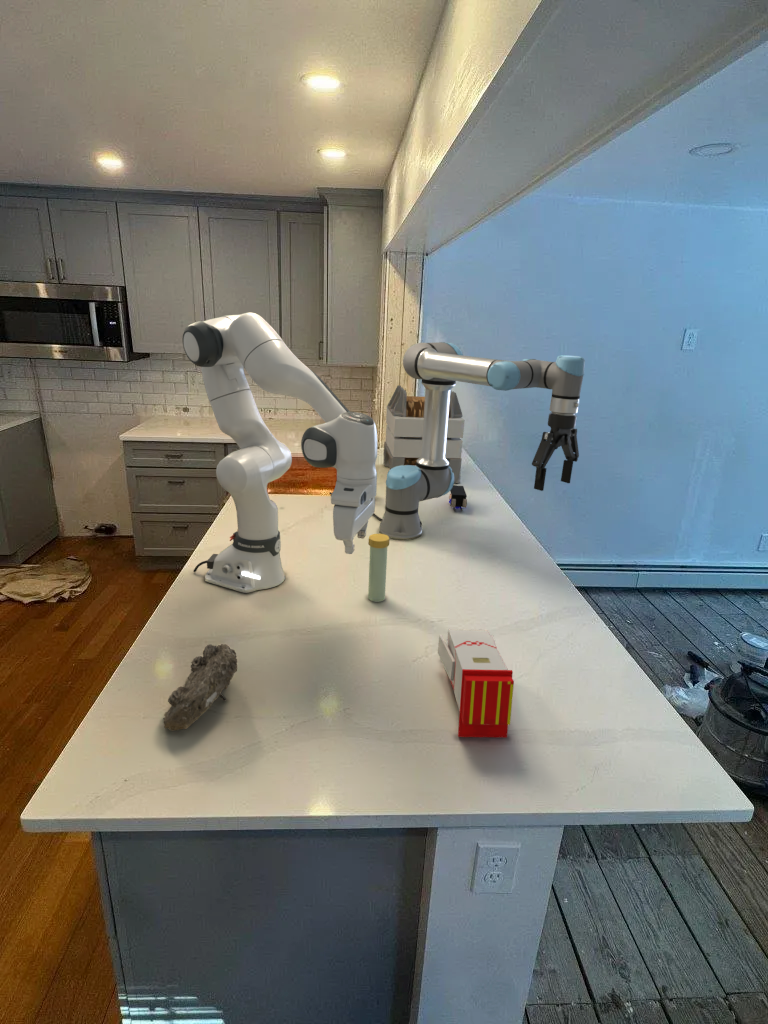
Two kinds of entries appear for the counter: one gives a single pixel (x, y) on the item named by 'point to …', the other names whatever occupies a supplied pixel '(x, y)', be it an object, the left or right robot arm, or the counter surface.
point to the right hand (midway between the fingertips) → (552, 485)
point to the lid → (378, 540)
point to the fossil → (201, 686)
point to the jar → (377, 574)
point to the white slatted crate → (419, 431)
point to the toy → (478, 682)
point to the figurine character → (458, 497)
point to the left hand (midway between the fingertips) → (355, 544)
